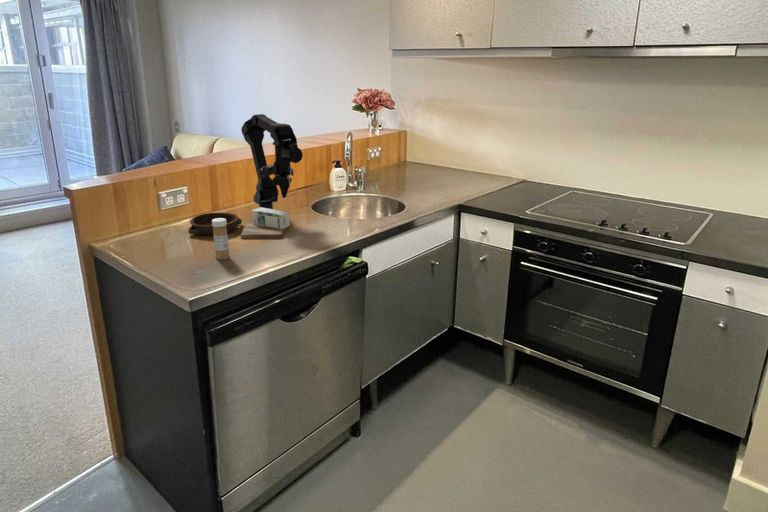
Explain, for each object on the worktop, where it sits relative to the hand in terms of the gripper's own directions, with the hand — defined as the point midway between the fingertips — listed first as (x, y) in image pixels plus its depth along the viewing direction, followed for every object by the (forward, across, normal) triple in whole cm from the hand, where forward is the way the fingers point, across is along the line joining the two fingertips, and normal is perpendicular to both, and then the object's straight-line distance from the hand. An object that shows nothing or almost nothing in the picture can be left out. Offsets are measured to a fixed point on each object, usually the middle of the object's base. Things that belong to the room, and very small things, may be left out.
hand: (284, 197), depth 207 cm
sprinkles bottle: (+11, +36, -17) cm, 41 cm away
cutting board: (+12, +8, -7) cm, 16 cm away
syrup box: (+7, +7, +1) cm, 10 cm away
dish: (+12, +6, -26) cm, 29 cm away
